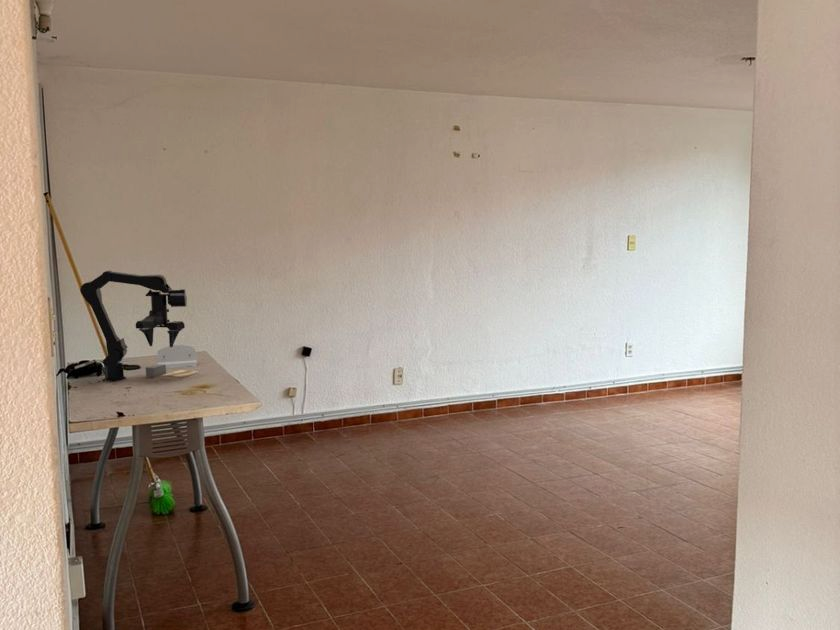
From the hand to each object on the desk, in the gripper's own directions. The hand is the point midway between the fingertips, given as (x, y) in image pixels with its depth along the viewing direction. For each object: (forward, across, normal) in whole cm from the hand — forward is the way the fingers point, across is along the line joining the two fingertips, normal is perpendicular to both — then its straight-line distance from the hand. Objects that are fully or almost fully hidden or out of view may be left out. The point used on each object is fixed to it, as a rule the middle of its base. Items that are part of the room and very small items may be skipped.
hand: (161, 346), depth 313 cm
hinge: (+12, -7, +20) cm, 25 cm away
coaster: (+12, +5, +5) cm, 14 cm away
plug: (+10, -2, +3) cm, 11 cm away
